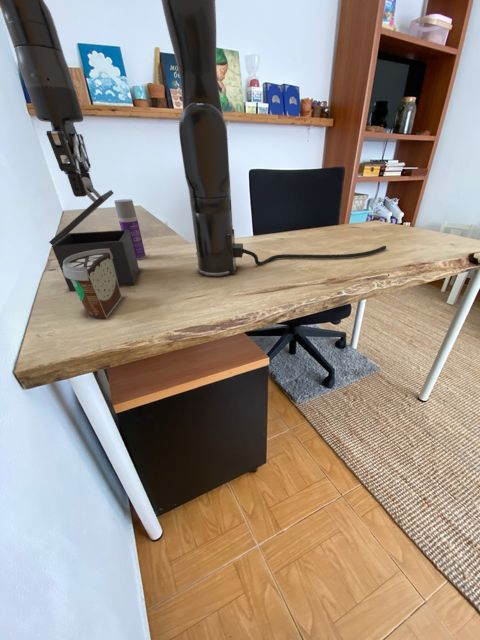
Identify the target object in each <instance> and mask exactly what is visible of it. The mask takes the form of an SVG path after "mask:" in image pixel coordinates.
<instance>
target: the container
mask: <svg viewBox="0 0 480 640" xmlns="http://www.w3.org/2000/svg"><path fill="white" fill-rule="evenodd" d="M133 201H134V200H133V199H131V198H129V199H128V198H124V199H116V200H114V201H113V202H114V206H115V210H116V215H117V218H118V223H119V226H120V230H129V231H130V235H131V239H132V243H133V247H134V251H135V255H136V259H137V261H140V260H145V259H146V258H147V255H146V251H145V246H144V243H143V239H142V234H141V230H140V229H141V228H140V225H139V221H138V216H137V213H136V209H135V204H134V202H133Z"/></svg>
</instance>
